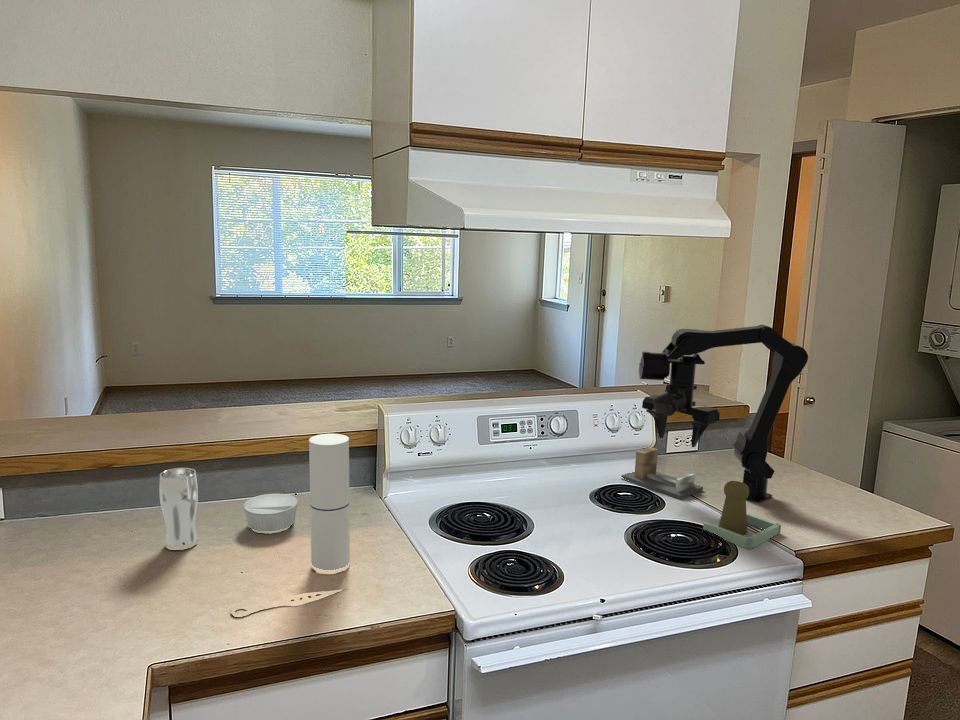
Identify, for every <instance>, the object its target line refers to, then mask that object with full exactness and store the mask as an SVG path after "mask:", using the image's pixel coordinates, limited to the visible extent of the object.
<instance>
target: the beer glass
mask: <svg viewBox="0 0 960 720" xmlns="http://www.w3.org/2000/svg"><path fill="white" fill-rule="evenodd" d="M198 486H199V485H198V480H197V471H196V470H195V469H194V468H189V467H175V468H169V469H166V470H163V471H162V472H160V473H159V502H160V509H161V512H162V516H163V520H164V523H165V530H166V531H165V532H166V535H165V542H166V543H167V544H168V545H171V546H182V545H187V544H190V543H192V542H194V541H196V539H198V536H197V532H196V517H197V510H198V503H199V502H198V501H199V488H198ZM165 542H164V543H165Z"/></svg>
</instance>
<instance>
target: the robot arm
mask: <svg viewBox="0 0 960 720" xmlns="http://www.w3.org/2000/svg"><path fill="white" fill-rule="evenodd" d="M761 343H762V345H764V346H765V348H767V349H768V350H769V351H770V352H772V354H773V356H772V361H771V376H770V379H769V382H768V384H767V387H765V388H766V389H765V390H764V394H763V396H762V398H761V400H760V403H759V406H758V408H757V411H756V413H755V415H754V418H753V421H752V423H751V425H750V427H749V429H748V430H747V431H746V432H744V433H742V432H740V431H739V432H738V434H737V437H736V441H735V443H734V444H733V445H732V446H733V448H734V450H733V454H734V456H735V459H737V460H738V461H739V463H740V465H741V467H742V468H744V470H743V477H742V483H745V484H746V485H747V486H748V488H749V495H748V497H747V498H746V499H748V500H751V501H754V502H757V503H761V502H763V501H766V500H768V499H770V498H772V497H773V495H772V493H767V492H768V491H767V489H768V483H769V479H772V477H773V475H774V474H775V470H774V469H773V467H772V466H770V465H769V464H768V462H767V461H766V460H767V455H768V452H769V436H770V433H771V430H772V429H773V426H774V423H775V422H776V419H777V416H778V414H779V413H780V412H779V411H780V409H781V407H782V404H783V403H784V400H785V397H786V395H787V393H788V390H789V387H790V385H791V384H792V383H793V381H794V380H796V379H797V377H798V376H799V375H800V374H801V373H802V371H803V370H804V368H805V367H806V366H807V363H808V360H809V354H808V352H807V350H806V349H805V348H804V347H802V346H800V345H798V344H795V343H793V342H790V341H789V340H787V339H786V338H784V337H783V336H781V335H780V334H779V333H777V332H776V331H775V330H774V328H772V327H770V326H769V325H765V324H758V325H754V326H753V325H752V326H747V327H745V326H743V327H736V328H735V327H734V328H728V329H727V328H725V329H717V330H716V329H715V330H703V329H694V328H693V329H692V328H680V329H677V330H676V331H675V332H674V333H673V334H672V336H671V341H669V343H668V344H667V346H666V347H664V349H663V350H662V351H661V352H650V351H642V352H641V357H640V360H639V361H640V362H639V363H638V375H639V376H638V378H639V380H650V381H651V380H653V381H664V380H665V378H666V379H667V378H668V377H669V383H668V384H666V385H665V391H664V392H662V393H661V394H659V395H658V394H657V395H656V394H654V395H650V396H645V397H644V398H643V400H642V404H641V408H642V409H644V410H645V411H646V413H648V414H650V415H651V417H652V418H653V420H654V423H655V425H656V429H657V432H658V437H659V439H663V438H664V437H665V433H666V427H667V422H668V417H671V416H673V415H674V414H675V413H680V414H683V415H688V416H691V418H692V421H690V423H691V427H692V433H691V448H695V447H696V446H697V444H698V442H699V441H700V439H701V437H702V435H703V433H704V432H705V431H706V429H707V428H708V426H710V424H714V423H715V422H717V421H718V422H719V421H720V417H721V416H720V415H721V413H720V411H719V410H718V408H714V407H709V406H706V405H705V406H699V407H695V406H696V401H694V400H693V399H694V391H695V390H697V389H698V388H697V387H698V385H697V384H695V377H696V376H695V375H696V366H697V365H705V364H706V362H705V360H703V359H702V357H701V356H700V354H701V353H703V352H706V351H708V350H711V349H714V348H722V347H732V346H740V345H749V344H750V345H751V344H752V345H753V344H761ZM699 353H700V354H699Z"/></svg>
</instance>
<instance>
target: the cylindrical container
mask: <svg viewBox="0 0 960 720" xmlns="http://www.w3.org/2000/svg"><path fill="white" fill-rule="evenodd" d="M308 448H309V449H308V450H309V451H308V452H309V453H308V455H309V456H308V457H309V460H308V461H309V506H310V507H309V509H310V510H309V511H310V552H311V553H310V558H311V559H310V561H311V562H310V563H312V565H313V566H314V567H316V568H319V569H323V570H334V569H335V570H336V569H339V568H343V567H345V566H346V565H348V563H349V562H350V563H351V560H350V559H351V557H350V555H351V553H350V552H351V551H350V550H351V549H350V548H351V547H350V539H351V538H350V437H349V436H347V435H345V434H341V433H320V434H317V435H313V436H311V437H310V438H309V439H308Z"/></svg>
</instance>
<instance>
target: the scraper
mask: <svg viewBox="0 0 960 720" xmlns="http://www.w3.org/2000/svg"><path fill="white" fill-rule="evenodd" d="M658 452H659V449H658V448H654V447H652V446H648V447H646V448H645V447H644V448H642V449H638V450H636V451H635V462H634V463H635V465H634V471H635V475H634V477H637V478H640V479H645V478H650V479H653V480H656V481H659V482H662V483H665V484H668V485H671V486H674V487H676V489H675V491H676V492H680V491H683V490H685V489H688V488H691V487H693V486H694V484H695V477H696V476H695V475H696V474H695V473H689V474H687V475H683V476H681V477H678V478H677V479H676V481H675V480H672V479H669V478H666V477H663V476H660V475H657V474H656V472H657V464H658Z"/></svg>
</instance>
